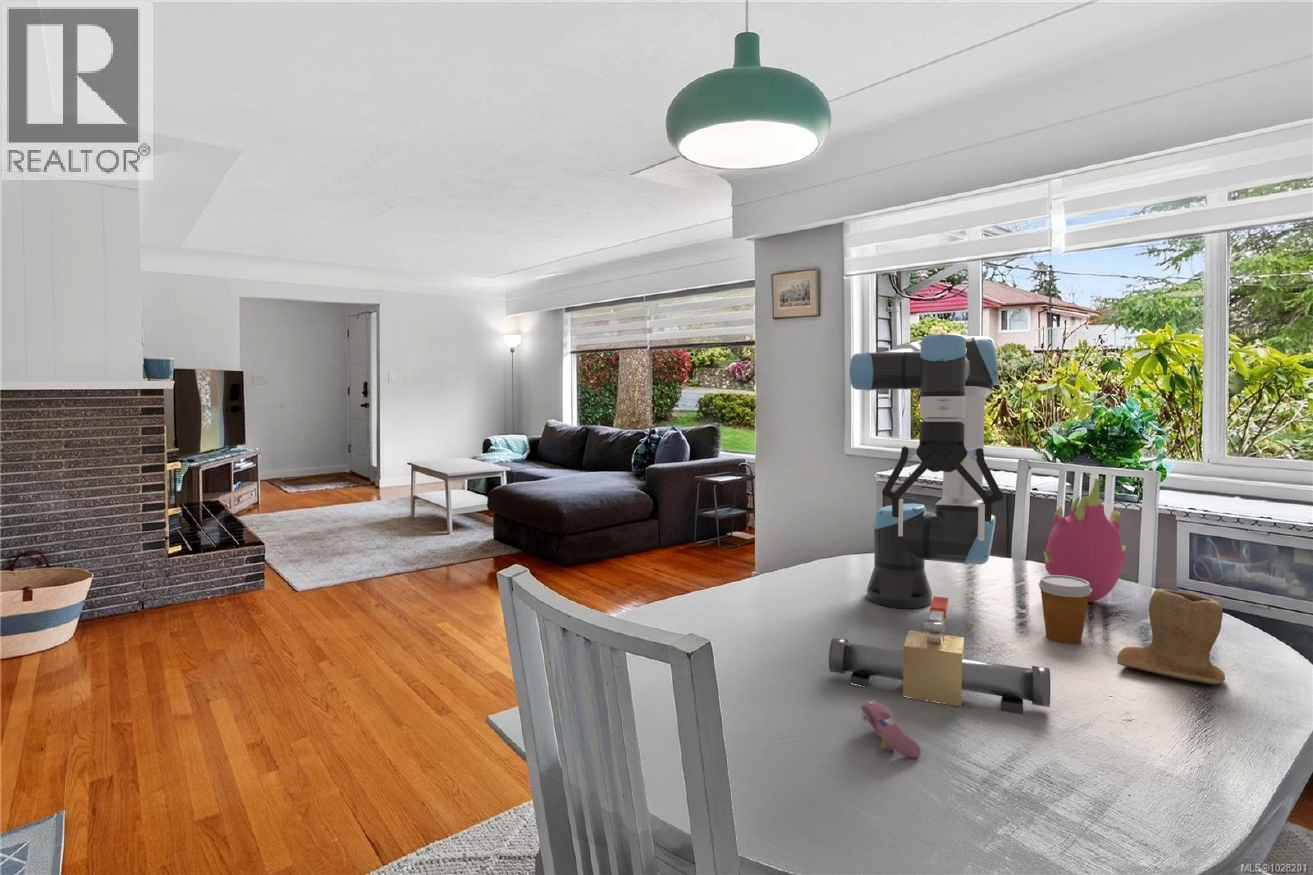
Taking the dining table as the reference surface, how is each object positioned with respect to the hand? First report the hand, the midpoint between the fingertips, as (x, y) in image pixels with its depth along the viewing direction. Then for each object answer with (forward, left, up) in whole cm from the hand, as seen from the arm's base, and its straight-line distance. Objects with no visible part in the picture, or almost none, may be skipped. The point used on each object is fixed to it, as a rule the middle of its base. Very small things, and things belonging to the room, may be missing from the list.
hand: (940, 537), depth 127 cm
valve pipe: (+10, 0, -25) cm, 27 cm away
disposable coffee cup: (-28, +22, -25) cm, 43 cm away
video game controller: (+31, -5, -25) cm, 40 cm away
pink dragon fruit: (-57, +28, -25) cm, 68 cm away
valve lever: (+4, 0, -14) cm, 15 cm away
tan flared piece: (-16, +38, -25) cm, 48 cm away
